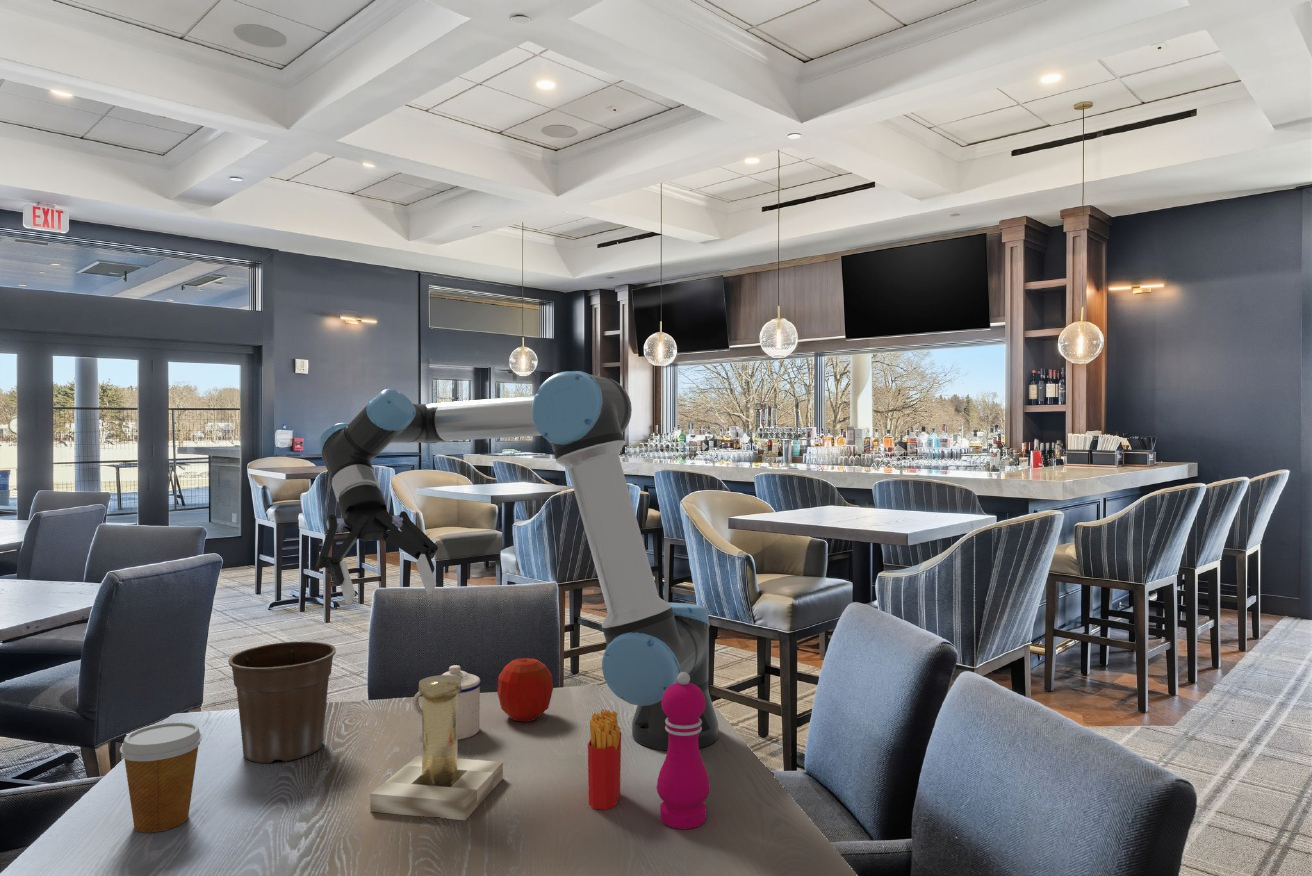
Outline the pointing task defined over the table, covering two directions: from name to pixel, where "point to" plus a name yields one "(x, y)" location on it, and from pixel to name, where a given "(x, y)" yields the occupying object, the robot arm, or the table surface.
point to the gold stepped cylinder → (439, 729)
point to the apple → (525, 689)
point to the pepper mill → (683, 757)
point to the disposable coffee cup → (161, 773)
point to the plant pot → (282, 698)
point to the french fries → (604, 760)
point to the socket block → (437, 790)
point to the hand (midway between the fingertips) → (392, 594)
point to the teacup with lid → (463, 702)
